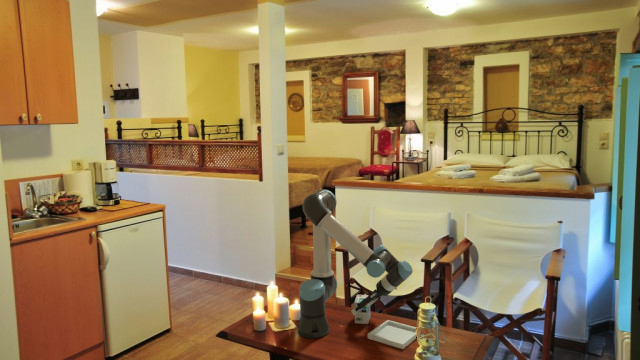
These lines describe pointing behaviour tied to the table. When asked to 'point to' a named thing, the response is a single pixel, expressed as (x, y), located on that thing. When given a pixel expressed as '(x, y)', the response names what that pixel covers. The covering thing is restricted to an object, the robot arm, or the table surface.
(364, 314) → the light bulb box
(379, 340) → the tray
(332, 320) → the table surface
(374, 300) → the robot arm
